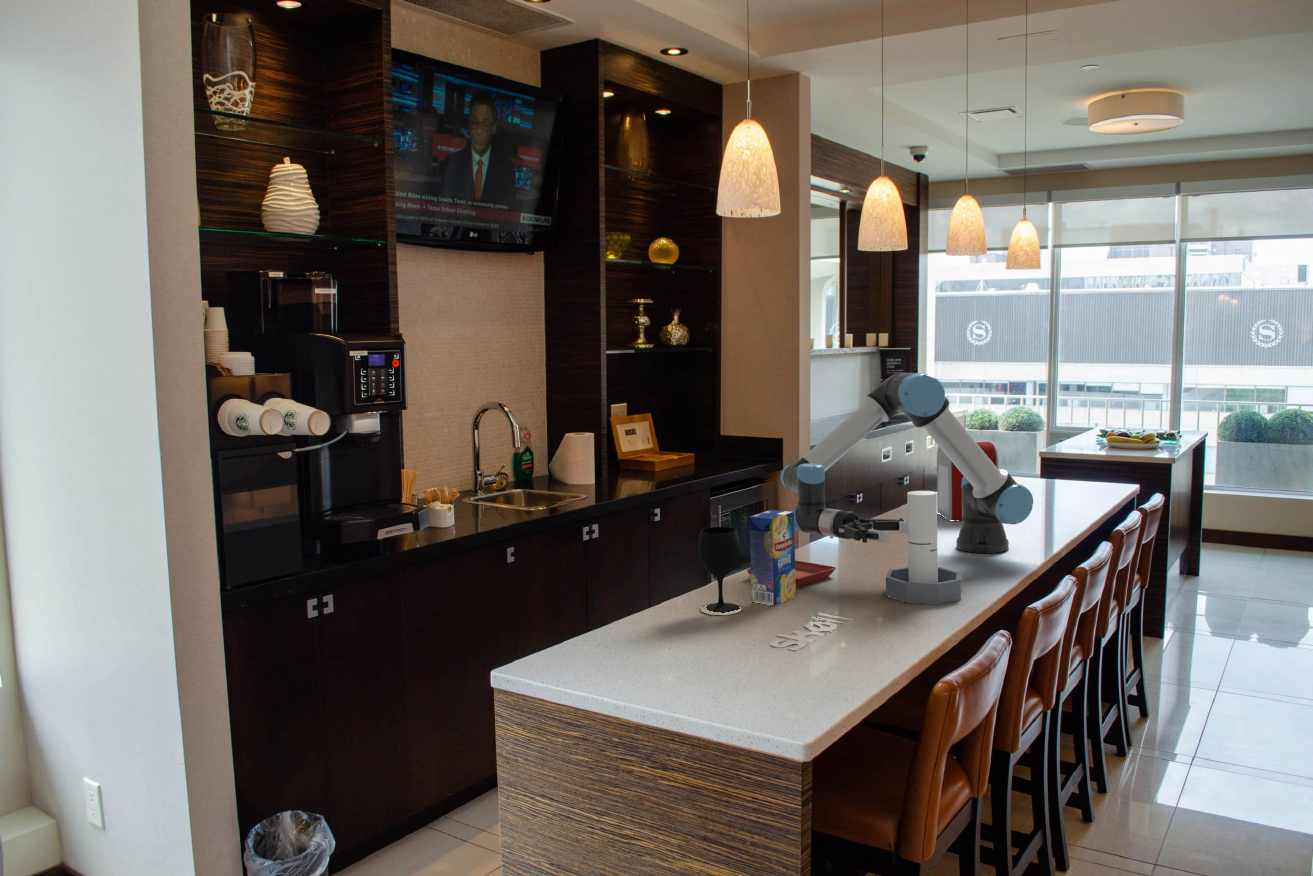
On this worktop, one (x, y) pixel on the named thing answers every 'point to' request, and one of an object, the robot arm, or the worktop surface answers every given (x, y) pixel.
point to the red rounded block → (955, 481)
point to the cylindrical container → (922, 536)
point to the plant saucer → (809, 572)
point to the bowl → (924, 587)
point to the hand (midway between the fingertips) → (906, 533)
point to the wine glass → (719, 559)
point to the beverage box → (772, 557)
